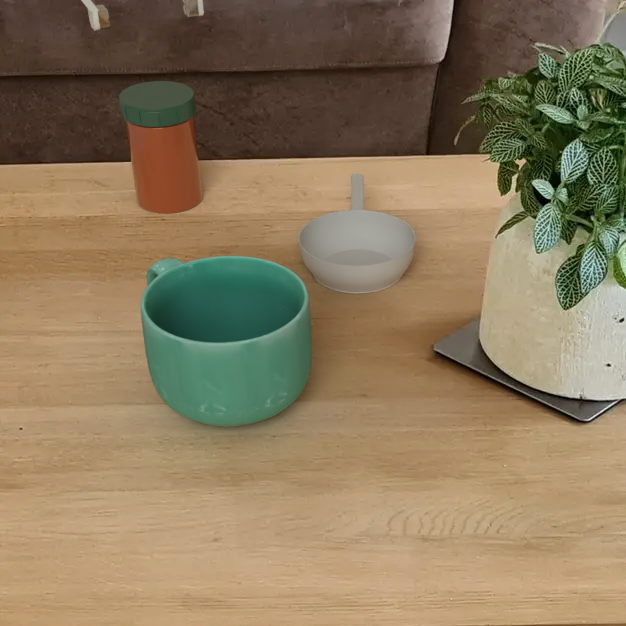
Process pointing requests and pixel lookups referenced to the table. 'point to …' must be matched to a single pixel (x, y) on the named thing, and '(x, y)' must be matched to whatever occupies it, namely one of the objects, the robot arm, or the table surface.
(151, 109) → the jar lid
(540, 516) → the table surface
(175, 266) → the mug
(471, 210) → the table surface
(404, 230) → the small pan
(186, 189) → the jam jar
